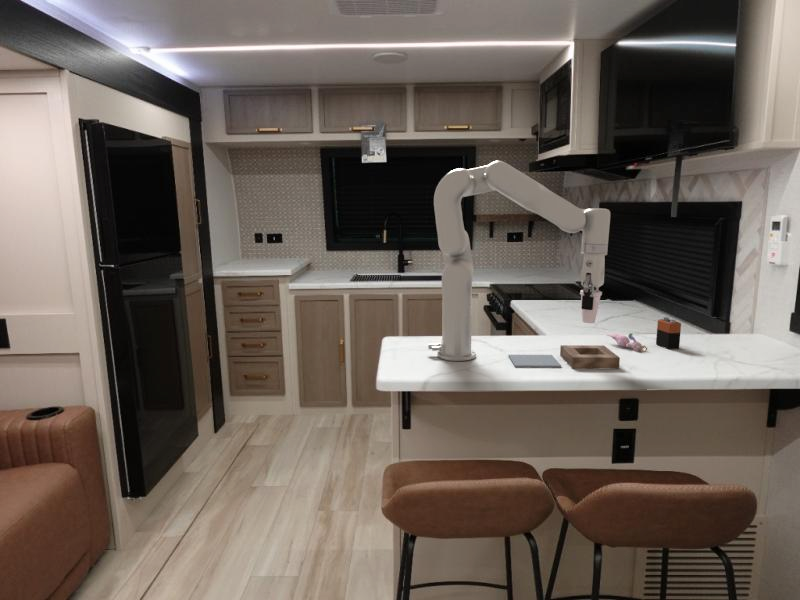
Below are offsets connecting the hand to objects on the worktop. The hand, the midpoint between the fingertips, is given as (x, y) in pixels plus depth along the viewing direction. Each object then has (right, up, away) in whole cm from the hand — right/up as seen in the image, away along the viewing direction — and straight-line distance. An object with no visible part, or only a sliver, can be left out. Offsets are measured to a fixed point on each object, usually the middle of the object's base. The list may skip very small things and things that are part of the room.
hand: (589, 307), depth 164 cm
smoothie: (0, -5, +1) cm, 5 cm away
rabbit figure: (+20, -15, +20) cm, 32 cm away
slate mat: (-16, -17, +4) cm, 24 cm away
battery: (+34, -14, +20) cm, 42 cm away
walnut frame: (+1, -17, +3) cm, 18 cm away
